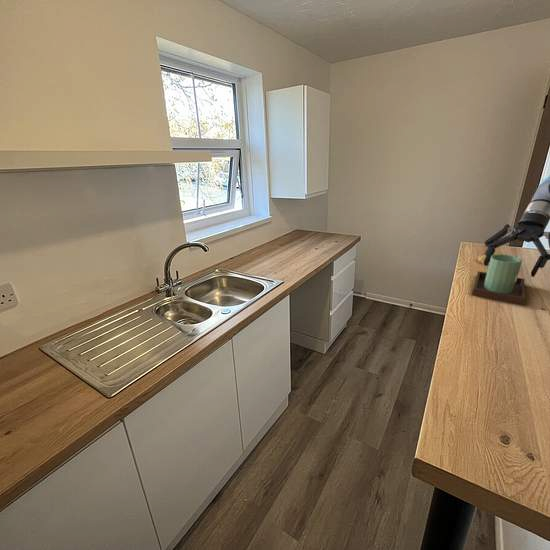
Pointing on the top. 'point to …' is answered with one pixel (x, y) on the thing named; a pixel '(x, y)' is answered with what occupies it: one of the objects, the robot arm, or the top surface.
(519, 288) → the tray
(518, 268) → the cup
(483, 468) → the top surface
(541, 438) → the top surface
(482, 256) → the pastry
